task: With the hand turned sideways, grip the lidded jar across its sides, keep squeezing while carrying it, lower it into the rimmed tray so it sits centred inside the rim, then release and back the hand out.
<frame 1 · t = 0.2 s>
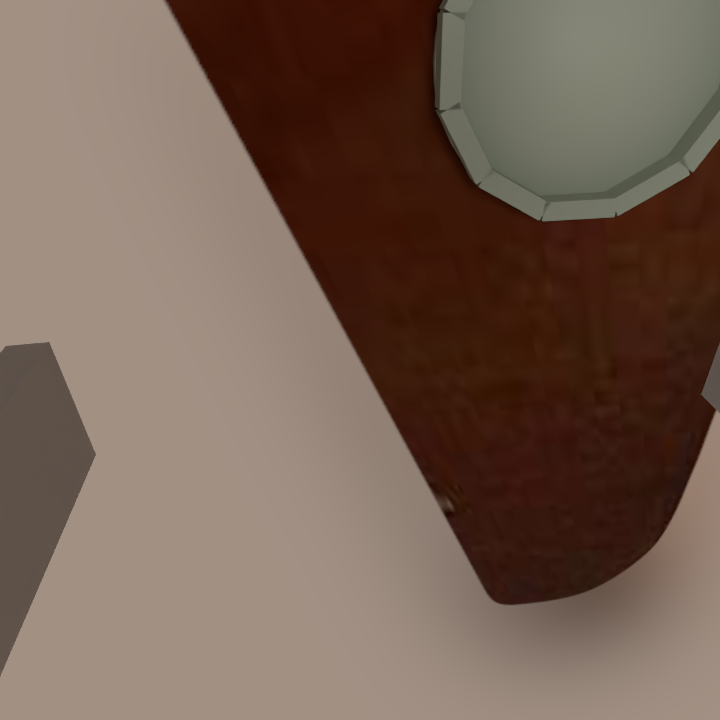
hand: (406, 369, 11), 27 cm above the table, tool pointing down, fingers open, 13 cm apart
rimmed tray: (587, 52, 33), on the table
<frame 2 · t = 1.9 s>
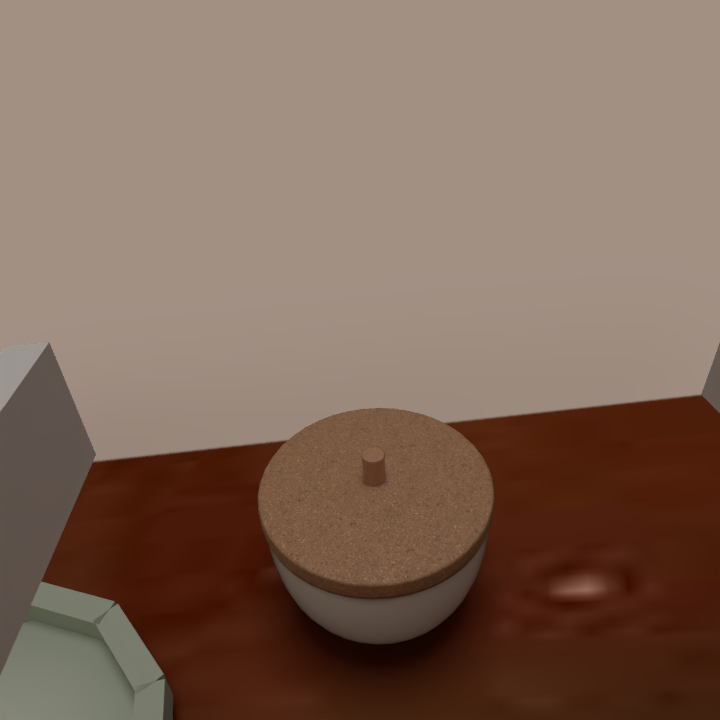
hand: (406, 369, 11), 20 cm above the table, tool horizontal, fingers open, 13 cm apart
lidded jar: (380, 585, 30), on the table
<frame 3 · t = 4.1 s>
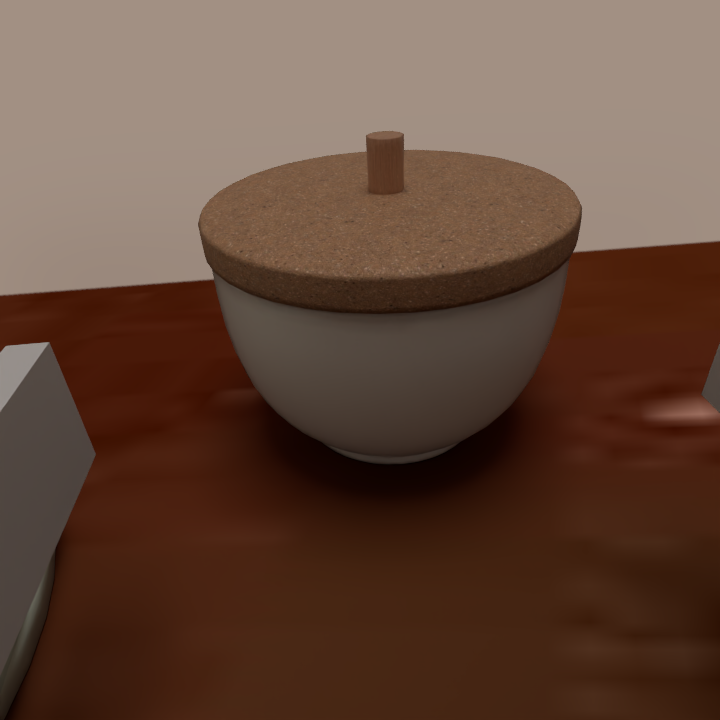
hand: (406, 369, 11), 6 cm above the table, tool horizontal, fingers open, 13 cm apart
lidded jar: (391, 410, 21), on the table
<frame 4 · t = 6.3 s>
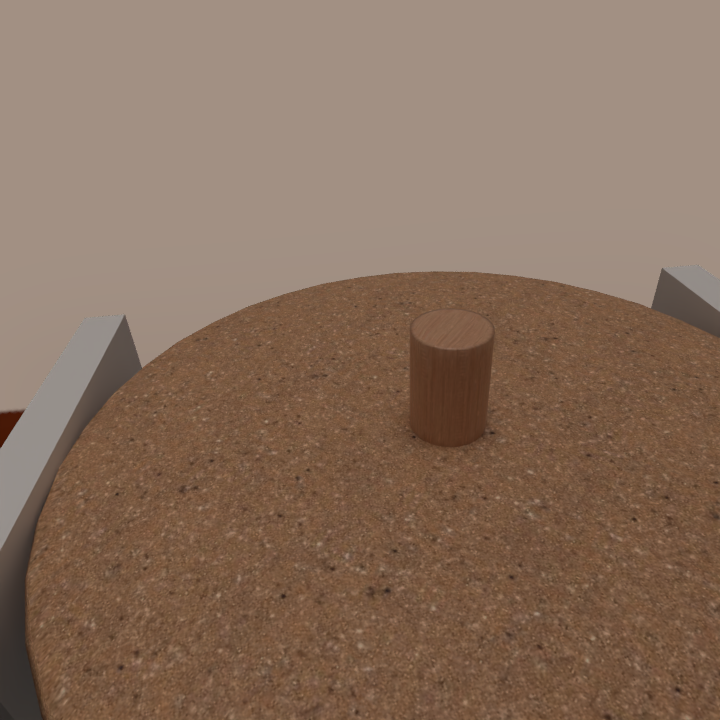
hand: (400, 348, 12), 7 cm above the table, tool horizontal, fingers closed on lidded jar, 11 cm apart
lidded jar: (433, 712, 12), on the table, touching gripper
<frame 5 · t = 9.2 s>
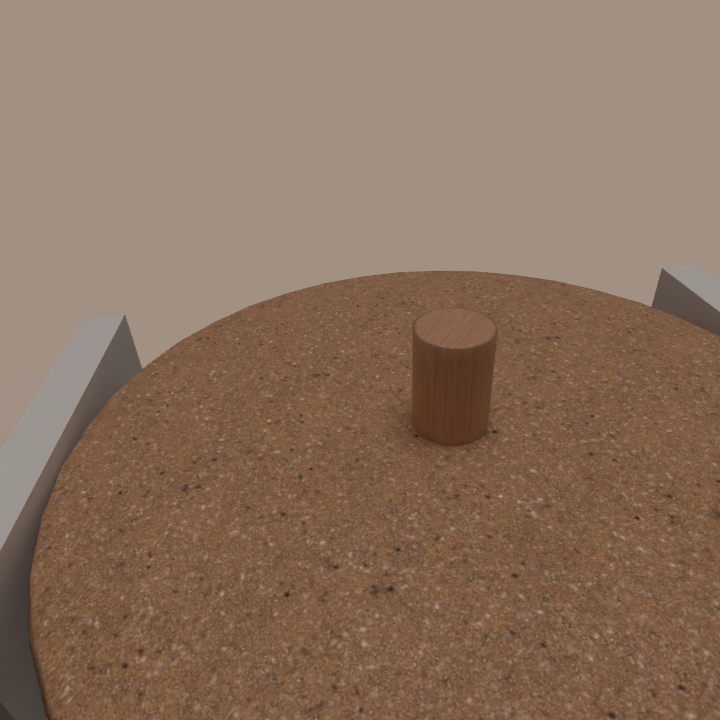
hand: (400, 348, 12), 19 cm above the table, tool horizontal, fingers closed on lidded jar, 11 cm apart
lidded jar: (435, 711, 12), point 12 cm above the table, touching gripper
when the fingers open (9 cm above the table, at t = 12.0 s): lidded jar drops 1 cm, resting on rimmed tray.
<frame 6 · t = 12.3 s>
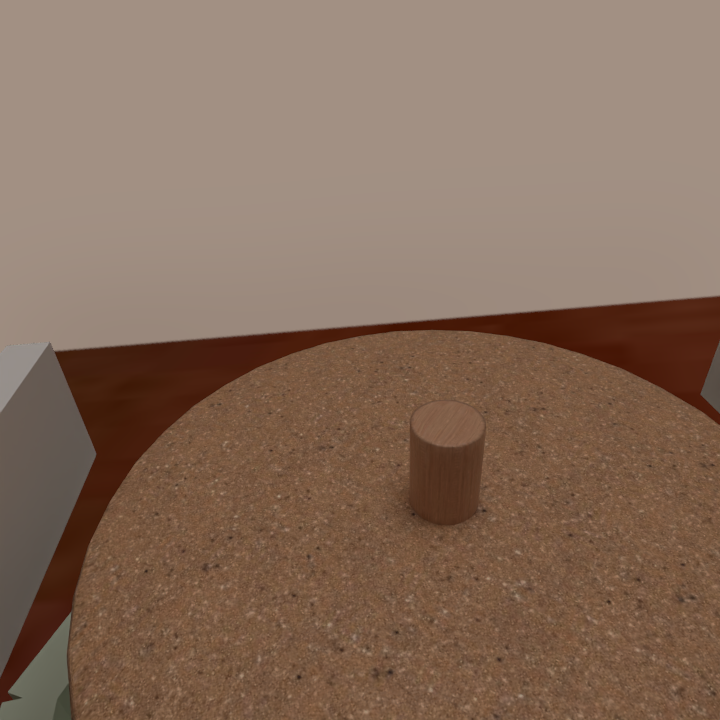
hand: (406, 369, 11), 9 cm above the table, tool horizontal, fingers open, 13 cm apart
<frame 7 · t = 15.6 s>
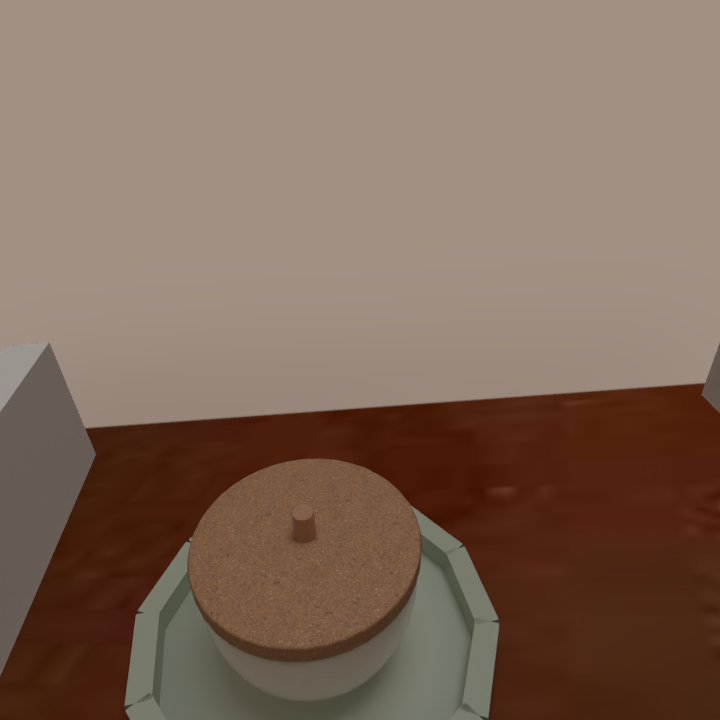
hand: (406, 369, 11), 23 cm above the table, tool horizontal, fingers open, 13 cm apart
rimmed tray: (318, 644, 31), on the table
lidded jar: (317, 635, 30), point 1 cm above the table, touching rimmed tray
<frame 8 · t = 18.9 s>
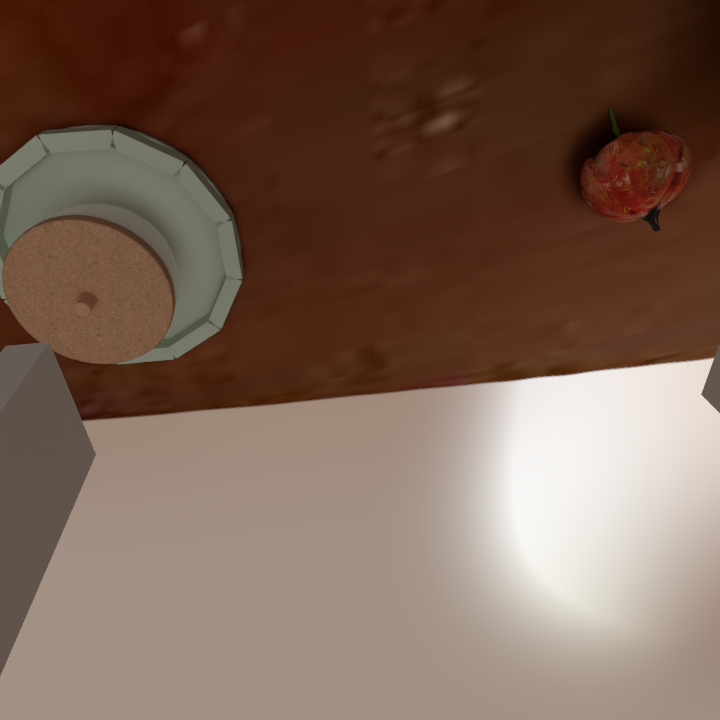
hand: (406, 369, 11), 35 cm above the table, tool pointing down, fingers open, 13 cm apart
rimmed tray: (123, 248, 45), on the table
lidded jar: (120, 251, 44), point 1 cm above the table, touching rimmed tray
pomegranate: (609, 159, 45), on the table
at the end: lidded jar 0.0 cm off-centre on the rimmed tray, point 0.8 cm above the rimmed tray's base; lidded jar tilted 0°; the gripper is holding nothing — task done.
